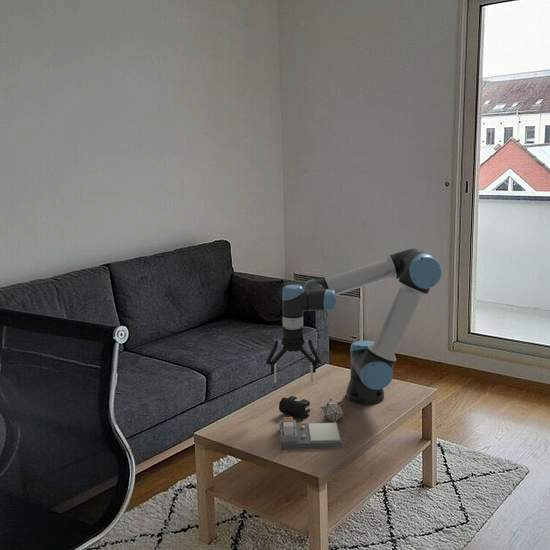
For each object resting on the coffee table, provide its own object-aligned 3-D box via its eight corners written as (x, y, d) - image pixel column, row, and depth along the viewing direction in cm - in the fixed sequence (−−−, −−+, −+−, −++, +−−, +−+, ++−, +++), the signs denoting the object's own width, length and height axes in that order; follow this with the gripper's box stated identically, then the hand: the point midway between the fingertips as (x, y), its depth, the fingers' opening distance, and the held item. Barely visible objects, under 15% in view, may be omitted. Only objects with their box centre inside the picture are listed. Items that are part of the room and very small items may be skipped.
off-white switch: (293, 431, 232) (293, 421, 231) (293, 435, 228) (293, 426, 228) (283, 431, 232) (283, 422, 231) (283, 436, 228) (283, 426, 228)
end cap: (278, 416, 253) (278, 399, 251) (290, 409, 258) (289, 393, 256) (300, 423, 246) (299, 406, 245) (311, 416, 252) (310, 399, 250)
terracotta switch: (292, 425, 239) (292, 416, 238) (293, 430, 236) (293, 421, 235) (283, 426, 239) (282, 417, 238) (283, 430, 236) (283, 421, 235)
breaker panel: (337, 427, 242) (337, 417, 241) (341, 447, 227) (341, 436, 226) (279, 429, 242) (279, 418, 241) (280, 449, 227) (280, 438, 226)
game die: (338, 429, 248) (354, 411, 245) (323, 428, 243) (339, 410, 239) (326, 411, 254) (342, 393, 250) (312, 410, 248) (327, 392, 245)
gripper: (258, 330, 240) (260, 385, 245) (327, 329, 241) (327, 384, 245) (259, 324, 248) (260, 377, 252) (326, 323, 248) (325, 376, 253)
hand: (293, 381), depth 249 cm, fingers open, 13 cm apart
